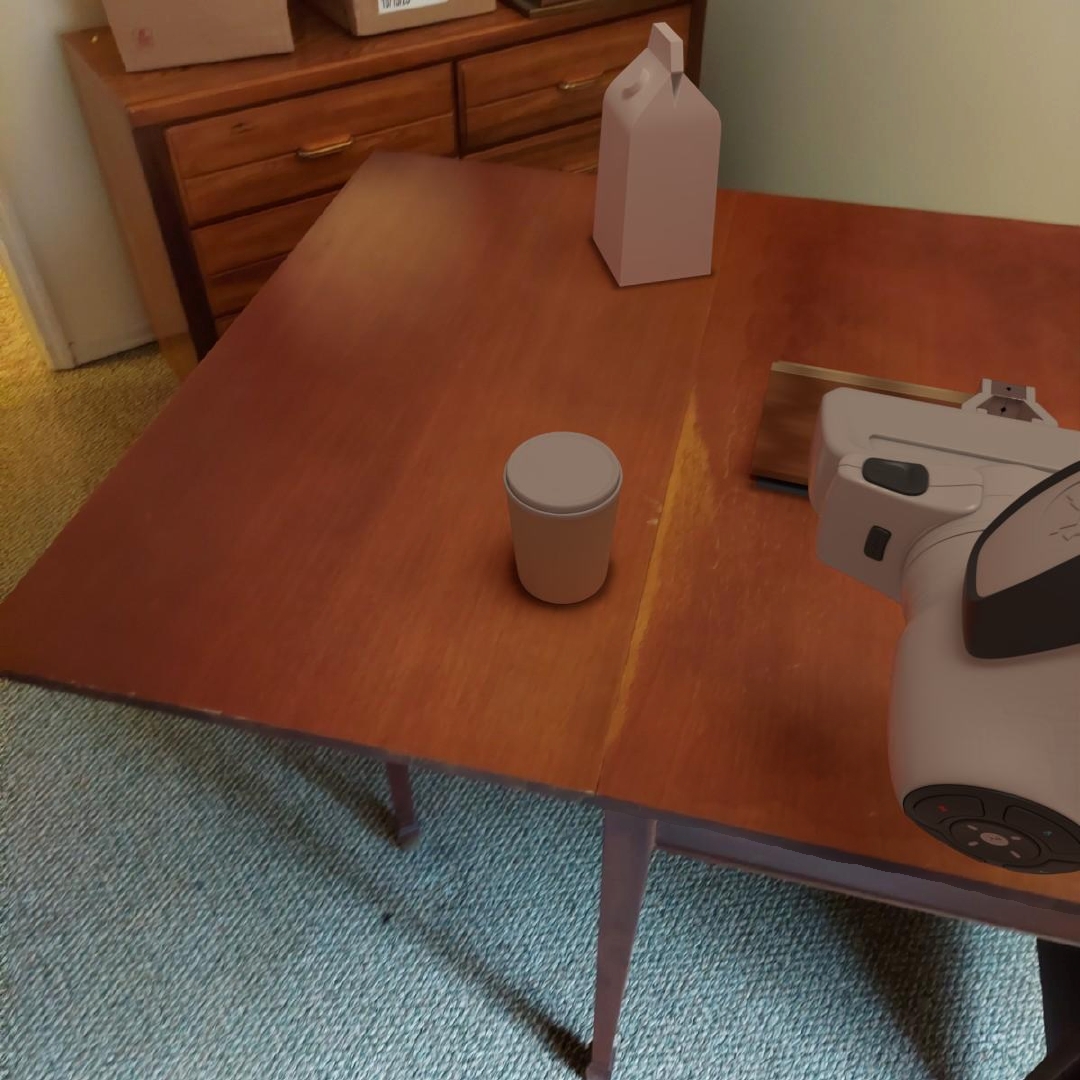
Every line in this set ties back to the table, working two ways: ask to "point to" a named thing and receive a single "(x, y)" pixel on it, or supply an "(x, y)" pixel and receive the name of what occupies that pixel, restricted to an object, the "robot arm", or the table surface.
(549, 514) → the coffee cup
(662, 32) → the milk
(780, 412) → the drawer
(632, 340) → the table surface
